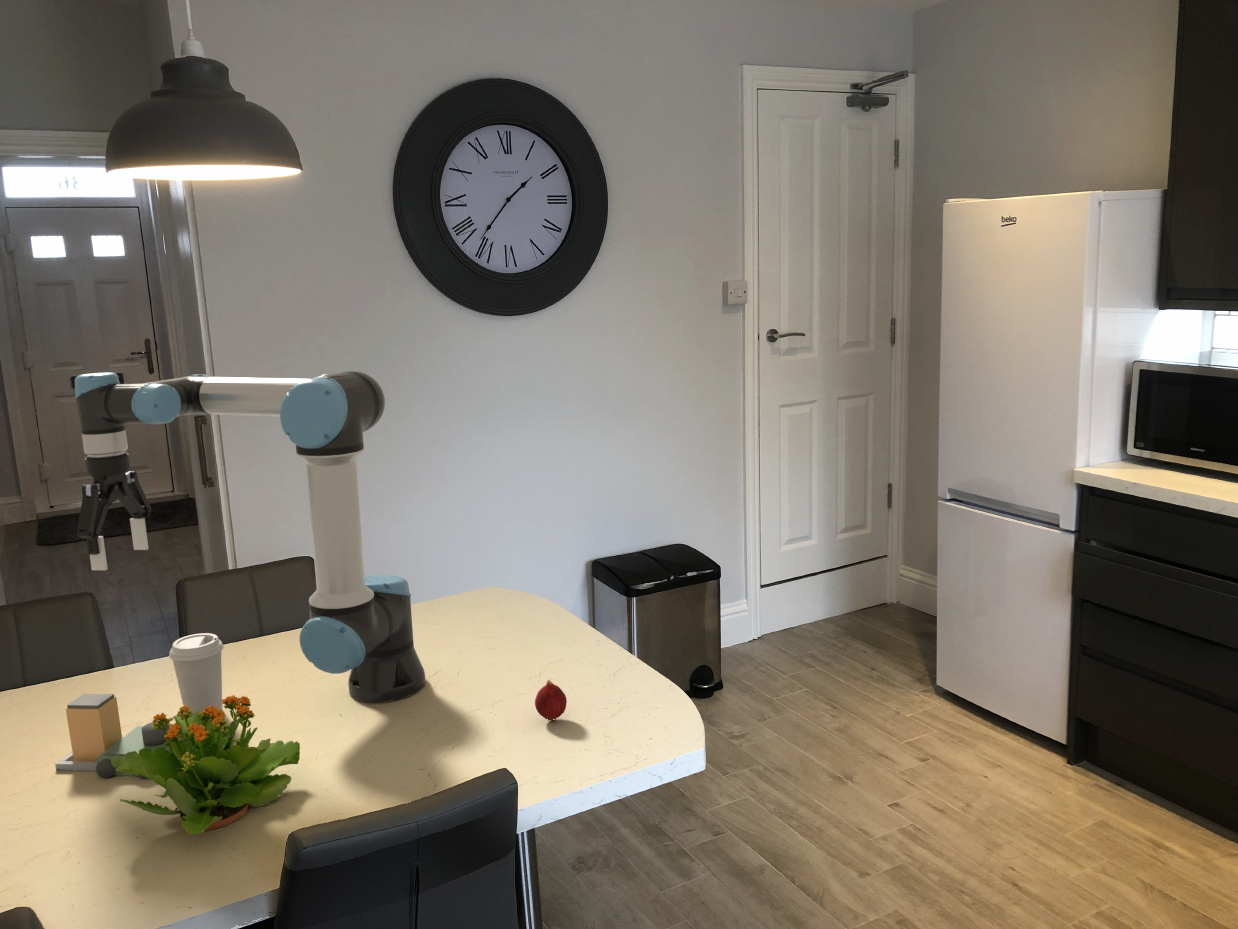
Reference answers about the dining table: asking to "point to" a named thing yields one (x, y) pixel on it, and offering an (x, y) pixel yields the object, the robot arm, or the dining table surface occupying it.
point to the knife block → (93, 725)
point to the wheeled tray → (118, 752)
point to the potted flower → (211, 766)
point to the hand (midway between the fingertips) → (121, 559)
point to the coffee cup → (198, 670)
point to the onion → (550, 701)
